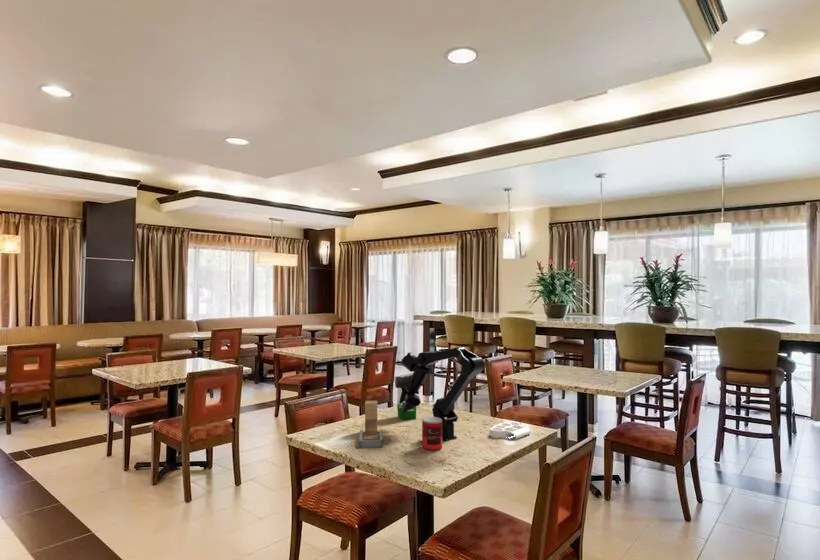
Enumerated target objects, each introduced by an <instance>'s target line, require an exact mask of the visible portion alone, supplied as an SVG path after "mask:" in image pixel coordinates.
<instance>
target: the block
mask: <svg viewBox="0 0 820 560" xmlns="http://www.w3.org/2000/svg"><path fill="white" fill-rule="evenodd" d="M364 435H378V400H365V402H364Z"/></svg>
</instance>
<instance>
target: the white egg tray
mask: <svg viewBox="0 0 820 560" xmlns="http://www.w3.org/2000/svg"><path fill="white" fill-rule="evenodd" d="M531 433H532V431H531V429H530V428H528V427H526V426H523V425H521V423H520V422H516V421H508V422H501V423H498V424H494V425H493V426H492V427H490V428H489V437H490V436H492V437H491V438H493V437H507V438H506V439H508V437H511V436H514V435H515V437H514V439H515V440H517V439H519V438H523V437H526V436H529V435H530V434H531ZM528 434H529V435H528ZM525 435H526V436H525Z"/></svg>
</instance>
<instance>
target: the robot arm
mask: <svg viewBox="0 0 820 560" xmlns="http://www.w3.org/2000/svg"><path fill="white" fill-rule="evenodd" d="M453 358H455V359H456V360H457V362H458V364H459V365H460V366H461V367H460V374H459V376H458V377H457V378H456V380H455V381H454V383H453V384H452V386H451V388H450V389H449V390H448V391H447V393H446V395H445V396H444V397H440V398H436V401H435V403H434V404H432V409H431V410H432V415H433V416H432V417H438V418H441V419H442V441H449V440H453V439H458V437H457V435H455V424H454V423H456V422H458V418H459V416H458V415H457V414H456V412H455V407H456V405H455V403H456V402H457V401H458V399H459V398H460V397H461V395H462V394H463V393H464V391H465V389H466V388H467V386H468V385H469V383H470V382H471V381H472V380H473V379H474V378H475V377H476V376H477V375H479V374H480V373H481V372H482V371H483V370H484V369H485V367H486V365H485V361H484V359H483V358H482V357H480V356H478V355H477V354H476V353H474V352H472V351H469V350H468V349H467V348H466V347H464V346H457V347H454V348H450V349H445V350H444V349H443V350H440V351H433V350H432V351H422V352H419V353H418V355H417V356H416V355H414V353H412V352H407V354H406V355H405V356H404V357H403V358H402V359H401V362H400V363H401V365H402V366H403V367H404V368H406V369H407V370H408V371H409V372H412V374H410V375H408V376H409V377H408V378H405V377H404V376H395V378H394V379H395V380H394V385H395V388H396V389H398V388H401V389H402V392H401V396H400V400H399V403H400V404H401V403H403V402H404V401H406V402H405V405H404V408H403V410H402V413H406V412H407V411H409V410H410V409H412V408H413V407H415V406H416V407H418V406H420V404H421V399H420V396H419V394H420V389H421V387H424V382H425V380H426V378H427V376H428V375H433V374H434V372H433V370H432V369H433V368H432V367H428V366H432V365H435V364H436V363H439V362H440V361H443V360H449V359H453ZM415 393H416V394H417V395H415Z"/></svg>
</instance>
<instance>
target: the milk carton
mask: <svg viewBox="0 0 820 560" xmlns="http://www.w3.org/2000/svg"><path fill="white" fill-rule="evenodd" d="M409 376H410V375H405V376H403V377H405V378H408V377H409ZM396 389H397V393H396V394H397V397H396V398H397V399H396V400H397V403H396V404H397V406H396V407H397V417H398V418H399V419H400V420H402V421H404V420H405V421H406V420H416V419H417V406H415V407H413V408H412V409H410V410H409V411H407V412H406V413H402V410H403V408H404V405H405V402H406V401H404V402H403V403H401V404H400V403H399V400H400V396H401V392H402V389H401V388H396ZM415 395H418V394H416V393H415Z"/></svg>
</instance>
